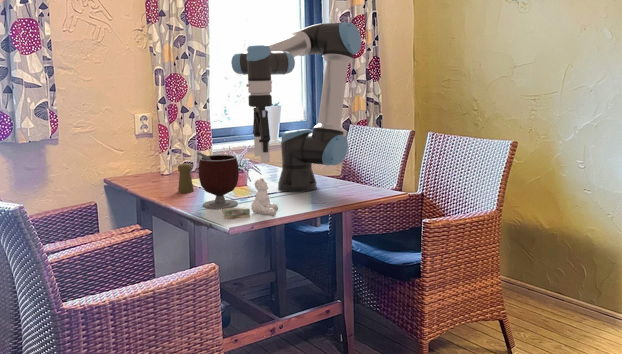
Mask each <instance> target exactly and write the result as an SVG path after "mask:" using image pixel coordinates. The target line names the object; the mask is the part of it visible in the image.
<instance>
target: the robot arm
mask: <svg viewBox="0 0 622 354" xmlns="http://www.w3.org/2000/svg"><path fill="white" fill-rule="evenodd" d="M361 47H362V36H361V33H360V30H359V28H358V27H357V26H356V25H355V23H353V22H344V21H341V22H328V23H325V22H324V23H317V24H313V25H310V26H307V27H305V28H301V29H299V30H297V31H294V32H293V33H292V34H291V35H290V36H288V37H285V38H283V39H280V40H277V41H274V42H272V43H269V44H265V45H263V44H261V45H257V44H256V45H248V47H247V50H246V52H245V51H240V52H236V53H234V54H233V55H232V58H231V62H230V63H231V68H232V70H233V72H234V73H235V74H237V75H243V76H246V75H247V83H246V87H247V90H248V92H247V93H248V94H249V95H248V98H247V99H248V106H249V107H251V108H253V125H252V129H253V130H252V134H253V141H254V142H253V143H254V144H253V145H254V157H260V163H270V158H271V157H270V156H271V155H270V141H271V135H270V126H269V125H270V124H269V115H268V113H269V111H268V110H266V107H271V106H272V105H273V102H272V101H273V99H272V98H273V97H272V94H271V93H272V92H273V91H272V90H273V89H272V88H273V87H272V76H273V75H275V76H277V75H286V74H290V73H291V72H293V71H294V69H295V66H296V59H295V57H298V56H299V57H305V56H308V55H322V56H321V57H322V58H323V59H324V61H325V64H324V65H325V66H324V73H323V81H322V89H321V96H320V97H321V98H320V105H319V112H318V120H317V124H316V125H314V126H313V129H312V130H311V128H302V129H294V130H288V131H287V130H286V131H284V132H283V133H282V134H281V142H280V145H281V146H280V147H281V165H282V166H281V172H280V175H279V179H278V183H277V184H278V185H277V186H278V190H279V191H284V192H291V193H296V192H297V193H299V192H309V191H313V190H316V189H317V180H316V177H315V174H314V171H313V167H312V166H313V165H322V166H323V165H324V166H339V165H340V164H341V163H342V162H343V161H344V160H345V158H346V156H347V155H348V152H349V151H348V150H349V142H348V139H347V137H346V135H344V130H343V128H342V126H341V124H342V116H343V108H344V100H345V91H346V84H347V76H348V68H349V64H350V63H352V62H353V61H354V55H356V54H358V53H359V52H360V51H361ZM312 164H313V165H312Z"/></svg>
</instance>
